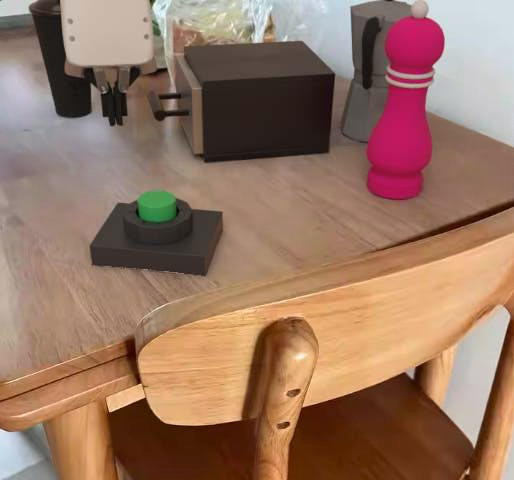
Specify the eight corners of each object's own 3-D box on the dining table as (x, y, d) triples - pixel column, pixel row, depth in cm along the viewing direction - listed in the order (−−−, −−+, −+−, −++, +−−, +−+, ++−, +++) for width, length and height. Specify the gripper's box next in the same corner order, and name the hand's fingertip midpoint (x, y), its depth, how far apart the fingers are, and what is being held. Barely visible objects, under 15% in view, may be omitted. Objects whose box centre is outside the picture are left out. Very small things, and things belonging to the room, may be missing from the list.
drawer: (159, 157, 87) (154, 90, 83) (146, 118, 97) (142, 57, 92) (309, 145, 91) (313, 81, 86) (283, 109, 101) (285, 50, 96)
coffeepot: (353, 109, 104) (367, -31, 93) (418, 119, 101) (441, -23, 90) (318, 148, 93) (330, -6, 82) (391, 161, 90) (413, 4, 79)
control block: (92, 265, 70) (86, 228, 67) (119, 221, 77) (116, 186, 74) (205, 276, 68) (204, 239, 66) (222, 230, 75) (222, 195, 73)
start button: (134, 222, 69) (132, 205, 68) (144, 204, 72) (143, 188, 71) (171, 225, 69) (170, 208, 68) (180, 208, 72) (179, 191, 70)
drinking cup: (35, 117, 99) (6, -48, 87) (63, 99, 105) (40, -59, 93) (85, 124, 98) (64, -43, 85) (111, 105, 103) (94, -54, 91)
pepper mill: (435, 185, 85) (469, -2, 73) (409, 208, 80) (440, 13, 68) (379, 169, 88) (403, -12, 76) (351, 190, 83) (371, 1, 71)
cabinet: (204, 162, 89) (202, 81, 83) (186, 121, 99) (183, 46, 93) (328, 153, 92) (335, 73, 86) (298, 113, 102) (302, 40, 96)
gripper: (166, -51, 83) (171, 108, 94) (30, -52, 80) (52, 114, 91) (176, -38, 77) (180, 130, 89) (30, -38, 74) (53, 136, 86)
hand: (115, 121), depth 90 cm, fingers closed
